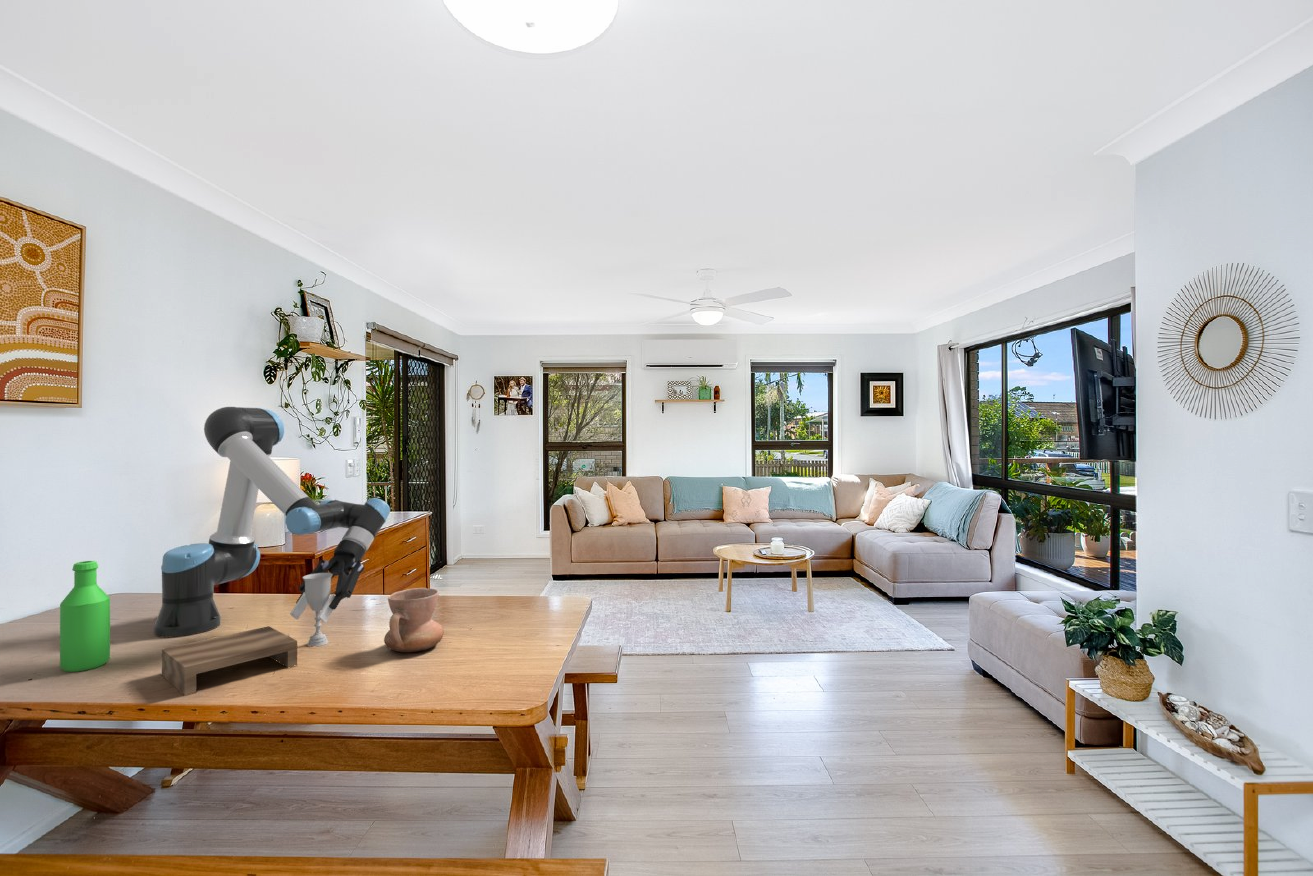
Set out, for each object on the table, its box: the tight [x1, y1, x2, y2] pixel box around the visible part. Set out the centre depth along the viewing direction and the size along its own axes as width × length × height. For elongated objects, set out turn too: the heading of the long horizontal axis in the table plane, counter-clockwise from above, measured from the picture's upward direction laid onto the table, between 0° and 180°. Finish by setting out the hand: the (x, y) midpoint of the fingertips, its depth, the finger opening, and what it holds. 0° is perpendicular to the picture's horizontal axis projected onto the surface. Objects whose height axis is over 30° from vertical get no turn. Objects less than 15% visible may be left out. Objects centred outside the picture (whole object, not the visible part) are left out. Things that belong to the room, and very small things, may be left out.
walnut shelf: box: [161, 625, 298, 696], centre depth 144 cm, size 18×22×6 cm
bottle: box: [59, 560, 111, 673], centre depth 147 cm, size 9×9×25 cm
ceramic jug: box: [383, 587, 445, 653], centre depth 160 cm, size 18×14×14 cm
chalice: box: [302, 572, 333, 647], centre depth 163 cm, size 7×7×18 cm
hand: (307, 618), depth 160 cm, fingers open, 8 cm apart
